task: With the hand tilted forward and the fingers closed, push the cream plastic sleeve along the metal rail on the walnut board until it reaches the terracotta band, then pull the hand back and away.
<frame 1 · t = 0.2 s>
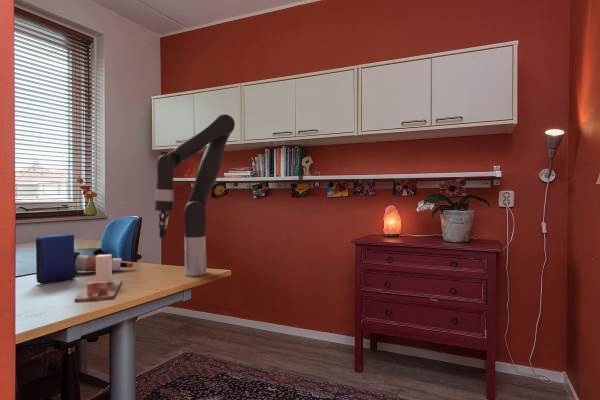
hand: (162, 236, 167), 18 cm above the table, tool pointing down, fingers open, 8 cm apart
book: (57, 282, 159), on the table
rail board: (100, 291, 142), on the table
grey brown bottle: (93, 273, 178), on the table
sleeve: (103, 269, 151), point 7 cm above the table, slide at 0.0 cm
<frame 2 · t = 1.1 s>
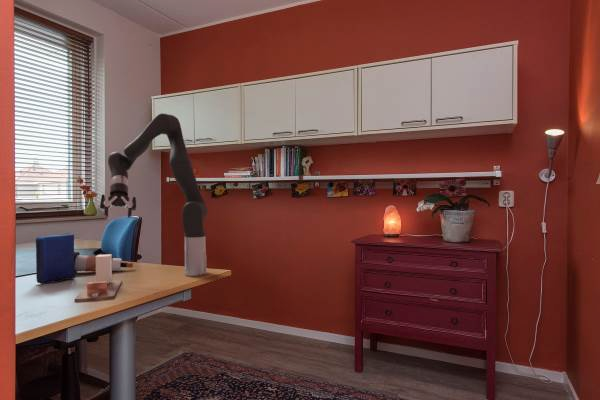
hand: (118, 216, 163), 27 cm above the table, tool tilted 40°, fingers open, 8 cm apart
nothing on the table moved.
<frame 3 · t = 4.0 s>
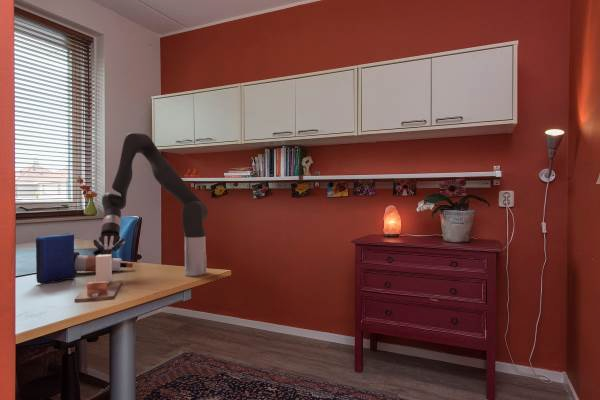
hand: (107, 258, 160), 10 cm above the table, tool tilted 45°, fingers closed
nothing on the table moved.
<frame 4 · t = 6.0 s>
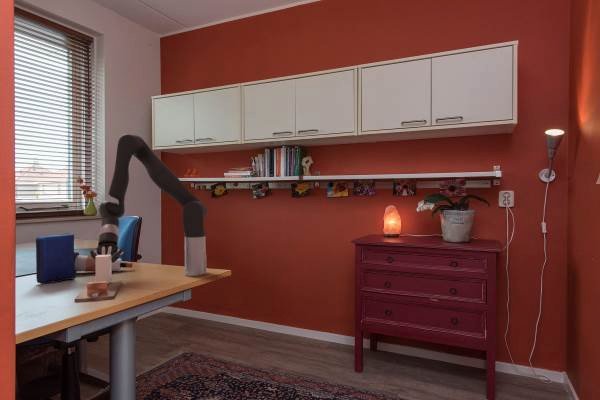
hand: (104, 270, 153), 6 cm above the table, tool tilted 45°, fingers closed
sleeve: (103, 269, 150), point 7 cm above the table, slide at 0.6 cm, touching gripper
everything else where it was.
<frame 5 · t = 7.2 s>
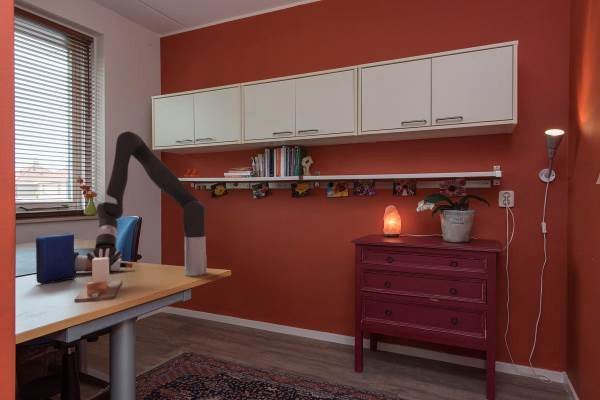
hand: (102, 273, 146), 6 cm above the table, tool tilted 45°, fingers closed
sleeve: (100, 272, 143), point 7 cm above the table, slide at 7.5 cm, touching gripper
everything else where it was.
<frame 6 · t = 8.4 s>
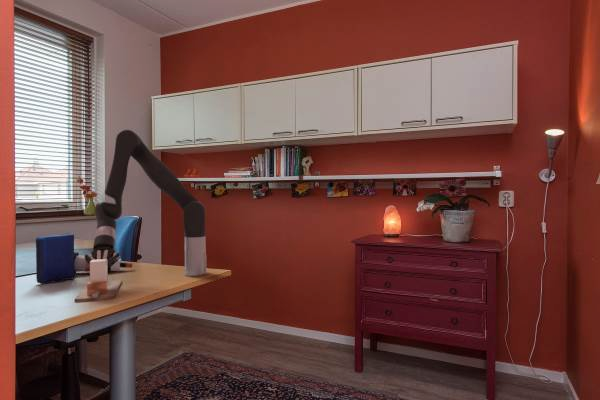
hand: (100, 275, 142), 6 cm above the table, tool tilted 45°, fingers closed
sleeve: (99, 275, 139), point 7 cm above the table, slide at 12.0 cm, touching gripper
everything else where it was.
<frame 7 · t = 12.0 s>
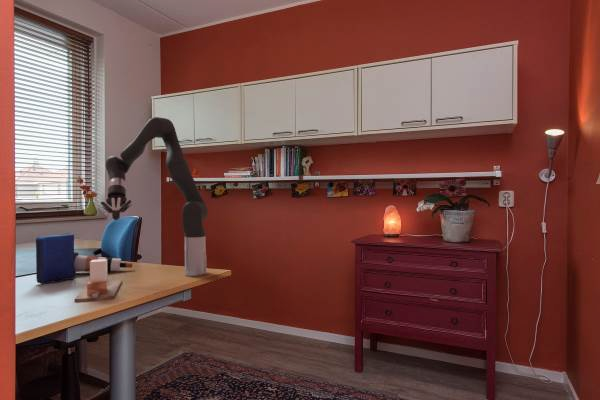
hand: (116, 218, 164), 26 cm above the table, tool tilted 40°, fingers closed
sleeve: (98, 275, 139), point 7 cm above the table, slide at 12.1 cm
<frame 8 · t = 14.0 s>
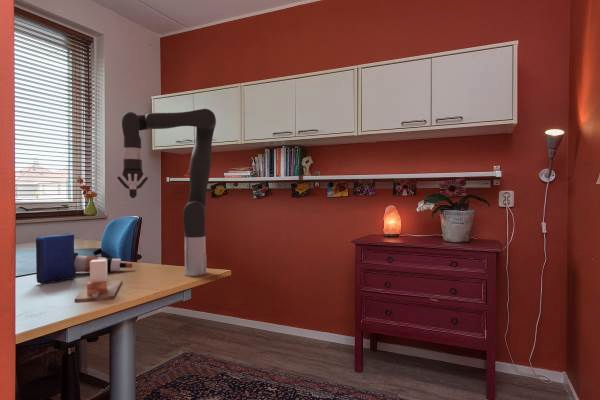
hand: (133, 198, 167), 35 cm above the table, tool pointing down, fingers closed
at the end: sleeve slide at 12.1 cm; the gripper is holding nothing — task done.
